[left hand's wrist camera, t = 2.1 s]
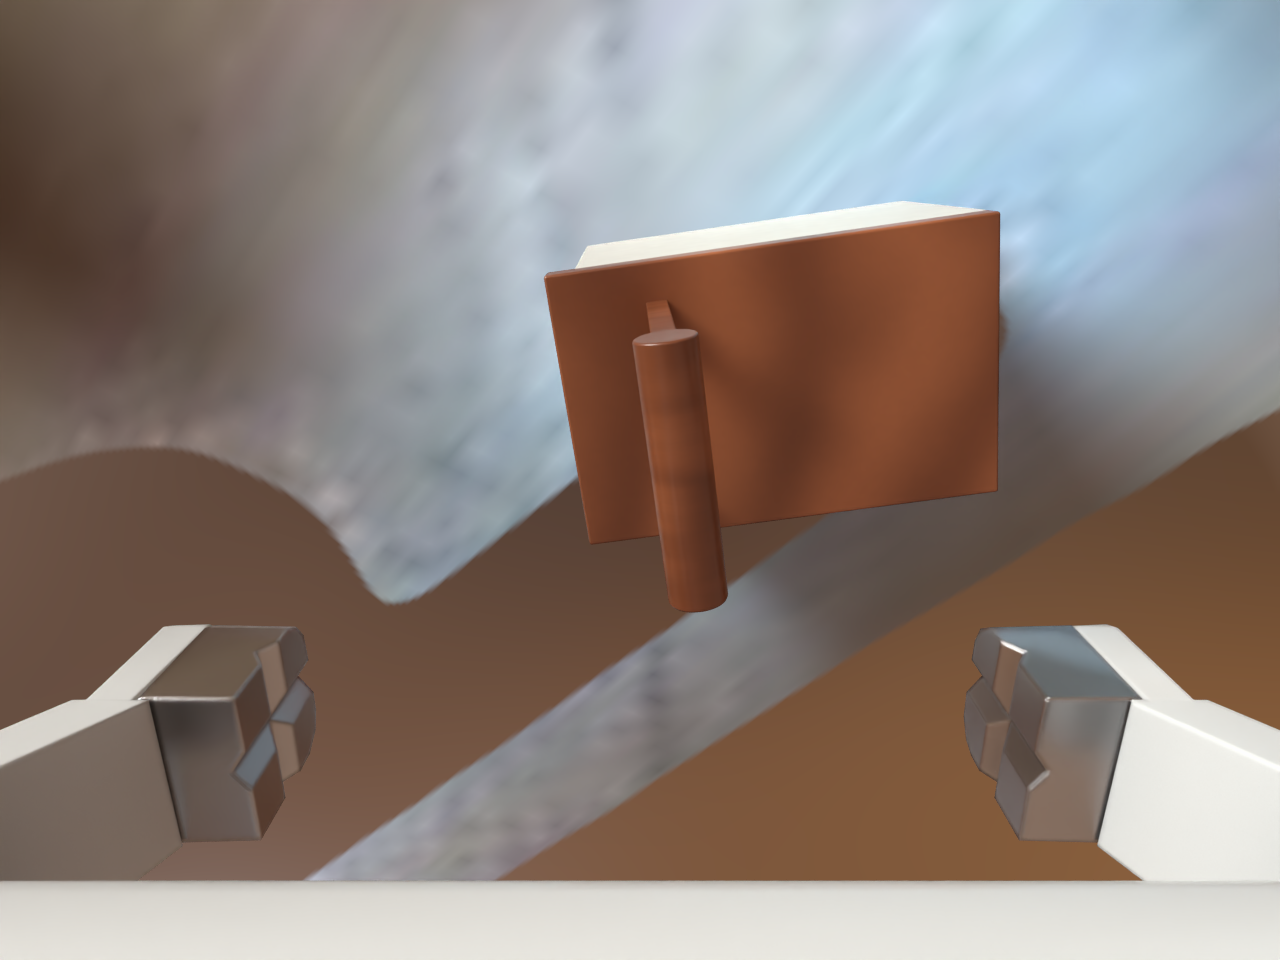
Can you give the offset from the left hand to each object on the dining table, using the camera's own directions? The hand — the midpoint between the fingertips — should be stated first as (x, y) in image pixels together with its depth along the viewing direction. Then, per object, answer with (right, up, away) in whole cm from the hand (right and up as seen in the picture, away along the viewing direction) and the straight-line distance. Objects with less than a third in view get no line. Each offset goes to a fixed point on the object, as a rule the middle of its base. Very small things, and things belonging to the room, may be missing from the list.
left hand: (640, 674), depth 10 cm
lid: (+5, +6, +19) cm, 21 cm away
